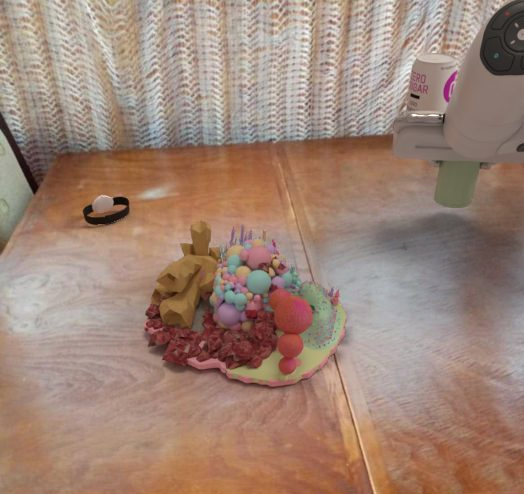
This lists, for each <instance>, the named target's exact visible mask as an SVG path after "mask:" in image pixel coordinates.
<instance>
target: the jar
mask: <svg viewBox="0 0 524 494" xmlns="http://www.w3.org/2000/svg"><path fill="white" fill-rule="evenodd" d="M480 165H481V162H469V161H444V160H442V164H441V166H440V167H438V172H437V178H436V182H435V187H434V195H433V201H434V202H435V203H436V204H438V205H440V206H442V207H445V208H451V209H461V208H466V207H469V206H470V205H471V204H472V202H473V198H474V194H475V192H476V191H475V190H476V187H477V183H478V178H479V174H480V170H481V169H480Z"/></svg>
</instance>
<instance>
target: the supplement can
mask: <svg viewBox="0 0 524 494" xmlns="http://www.w3.org/2000/svg"><path fill="white" fill-rule="evenodd" d="M458 70H459V67H458V63H457V57H456V56H454V55H453V54H449V53H442V52H428V53H427V52H426V53H422V54H419V55H417V56H416V59H415V60H414V61H413V64H412V65H411V71H410V78H409V79H410V80H409V85H408V91H407V92H408V93H407V100H406V109H405V113H407V112H410V111H446V108H447V106H448V103H449V100H450V97H451V94H452V92H453V90H454V88H455V86H456V81H457V77H458Z"/></svg>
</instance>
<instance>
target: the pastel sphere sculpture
mask: <svg viewBox="0 0 524 494" xmlns="http://www.w3.org/2000/svg"><path fill="white" fill-rule="evenodd" d="M189 230H190V239H191V241H192V242H191V243H189V242H181V243H179V246H180V249H181V251H182V255H183V256H182V257H181V258H179V259H178V260H175V261H172V262H171V263H170V264H168V265H167V266H166V267H165V268H164V269H163V270H162V271H161V272H160V273H159V275H158V277H157V278H156V280H155V281H156V282H157V283H158V285H157V286H156V287H155V288H154V290H153V292H152V294H151V300H150V304H149V307H148V308H147V309H146V310H145V314H144V316H146V317H147V319H146V320H144V321H143V322H142V325H143V330H144V331H145V332H147V333H148V334H150V338H149V341H148V344H147V348H150V347H157V346H162V345H163V346H164V345H166V344H167V343H168V345H167V346H166V349H165V351H164V354H163V355H162V358H161V360H162V361H165V362H168V363H172V364H175V365H178V366H183V367H186V366H187V365H189V366H191V367H193V368H196V369H198V370H206V369H213V368H216V369H220V372H221V373H223V374H226V376H227V378H228V379H231V380H232V379H233V380H238V381H241V382H243V383H244V384H252V383H255V384H259V385H261V386H263V385H265V386H266V385H267V386H269V387H281V386H289V385H294V384H297V383H298V382H300V381H301V380H306V379H309V378H311V377H312V376H313V374H314V373H315V372H316V371H319V370H321V369H322V368H323V367H324V366H325V365H326V363H327V362H328V361H329V357H330V356H332V355H334V354H335V353H336V351H338V346H339V344H340V343H341V342H342V341H343V339H344V338H345V336H346V330H345V328H346V323H347V314H346V312H345V309H344V307H343V305H342V304H341V301H340V300H339V298H340V292H339V291H340V288H338V289H337V290H336V292H335V289H334V286H332V287H331V288H330V289H331V290H330V289H328V288H326V287H324V286H323V284H321V283H319V282H317V281H315V280H305V281H302V280H301V279H300V278H298V277H299V274H298V273H297V272H295V271H296V270H295V269H296V268H295V266H294V265H293V264H292V263H291V264H290V265H289V264H288V262H287V261H286V256H285V255H284V254H280V252H279V251H278V250H277V243H276V242H275V241H274V239H273V238H272V240H271V243H272V244H268V243H267V242H266V239H267V229H262V238H261V235H259V237H258V238H253V230H252V228H250V229H249V233H245V223H242V225H241V226H240V236H239V237H240V238H239V237H238V236H235V234H236V229H235V225H233V226H232V230H231V232H230V240H229V247H228V245H226V246H225V247H224V250H223V245H222V244H221V243H219V246H214V247H212V246H211V247H210V243H211V241H212V226H211V223H210V222H207V221H204V220H198V221H197V222H195V223H192V224H191V225H190V228H189ZM244 233H245V234H244ZM247 234H248V235H247ZM234 238H235V239H234ZM237 239H238V242H239V244H237ZM334 292H335V293H334Z"/></svg>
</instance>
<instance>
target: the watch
mask: <svg viewBox="0 0 524 494" xmlns="http://www.w3.org/2000/svg"><path fill="white" fill-rule="evenodd" d="M114 206H125V208H123V209H121V210H119V211H116V212H114V213H111V214H106V215H104V216H89V215H91V214H92V213H97V214H105V213H104V212H106V213H107V211H108V212H109V211H110V210H111V209H112V208H113V207H114ZM130 211H131V209H130V200H129V198H127V197H125V196H114V197H113V196H112V197H111V196H108V195H105V194H104V195H103V194H100V195H99V196H97V197H96V198H95V199H94V201H92V203H90V204H88V205H85V207H84V208H83V209H82V214H83V217H84V221H85V222H86V223H87V224H89V225H92V226H99V225H98V224H105V225H107V224H106V223H110V224H112V223H111V222H114V221H116V222H118V221H120V220H122V219H124V218H126V217H127V216H128V215H129V213H130ZM125 216H126V217H125ZM121 218H122V219H121ZM119 219H120V220H119ZM117 220H118V221H117ZM114 223H115V222H114Z"/></svg>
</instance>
